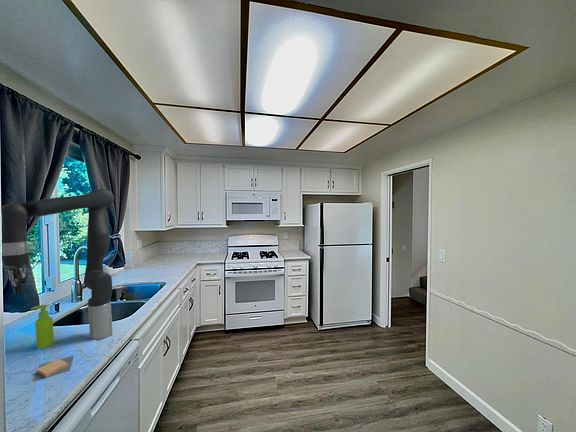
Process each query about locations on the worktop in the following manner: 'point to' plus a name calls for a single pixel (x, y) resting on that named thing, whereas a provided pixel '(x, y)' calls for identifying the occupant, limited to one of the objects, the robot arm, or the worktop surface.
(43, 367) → the tile
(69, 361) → the mat
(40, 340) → the soap dispenser
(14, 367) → the worktop surface
